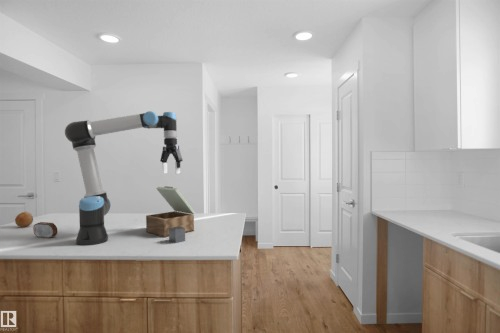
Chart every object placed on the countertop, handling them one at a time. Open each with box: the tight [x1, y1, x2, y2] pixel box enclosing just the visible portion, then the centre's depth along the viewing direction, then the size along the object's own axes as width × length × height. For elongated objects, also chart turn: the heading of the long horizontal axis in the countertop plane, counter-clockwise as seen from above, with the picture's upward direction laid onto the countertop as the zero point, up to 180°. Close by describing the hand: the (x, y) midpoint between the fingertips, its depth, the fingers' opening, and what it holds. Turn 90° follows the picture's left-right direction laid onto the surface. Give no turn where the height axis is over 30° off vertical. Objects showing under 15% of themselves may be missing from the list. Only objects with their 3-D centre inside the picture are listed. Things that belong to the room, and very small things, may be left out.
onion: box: [14, 211, 34, 228], centre depth 205 cm, size 10×10×10 cm
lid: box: [156, 186, 196, 215], centre depth 189 cm, size 20×20×3 cm
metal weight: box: [168, 226, 186, 244], centre depth 164 cm, size 6×6×7 cm
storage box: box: [145, 210, 195, 238], centre depth 186 cm, size 20×20×10 cm
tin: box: [32, 221, 58, 239], centre depth 176 cm, size 15×3×8 cm, turn 74°
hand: (171, 173), depth 187 cm, fingers open, 13 cm apart
